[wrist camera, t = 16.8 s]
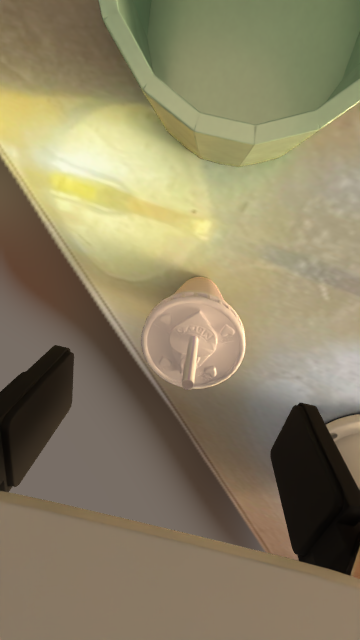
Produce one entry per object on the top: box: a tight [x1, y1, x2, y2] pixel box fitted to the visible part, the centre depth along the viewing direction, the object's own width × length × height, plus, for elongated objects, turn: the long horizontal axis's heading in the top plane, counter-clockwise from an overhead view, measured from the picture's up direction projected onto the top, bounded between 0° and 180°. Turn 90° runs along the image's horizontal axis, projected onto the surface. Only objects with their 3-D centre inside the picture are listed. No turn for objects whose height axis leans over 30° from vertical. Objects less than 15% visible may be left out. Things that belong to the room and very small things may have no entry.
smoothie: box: [141, 277, 246, 390], centre depth 18 cm, size 6×6×14 cm
